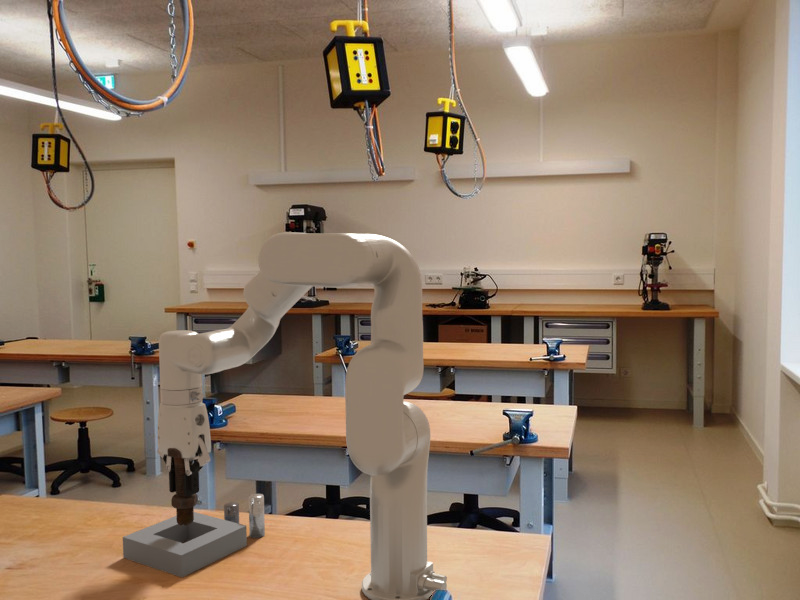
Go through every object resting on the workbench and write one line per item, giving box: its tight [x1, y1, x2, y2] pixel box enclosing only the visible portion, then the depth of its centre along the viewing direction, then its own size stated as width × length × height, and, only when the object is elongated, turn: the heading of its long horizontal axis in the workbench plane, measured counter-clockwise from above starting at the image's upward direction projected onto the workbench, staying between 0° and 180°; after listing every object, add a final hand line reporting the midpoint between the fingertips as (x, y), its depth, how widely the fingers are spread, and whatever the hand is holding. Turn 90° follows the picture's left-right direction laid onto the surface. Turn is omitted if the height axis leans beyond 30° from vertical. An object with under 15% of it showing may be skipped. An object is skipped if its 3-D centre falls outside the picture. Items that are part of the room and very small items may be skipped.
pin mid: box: [248, 493, 266, 539], centre depth 146 cm, size 3×3×8 cm
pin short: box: [223, 501, 240, 524], centre depth 150 cm, size 3×3×5 cm
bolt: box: [168, 448, 199, 526], centre depth 137 cm, size 6×5×15 cm
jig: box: [122, 511, 248, 578], centre depth 138 cm, size 16×16×4 cm
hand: (184, 491), depth 137 cm, fingers closed on bolt, 3 cm apart
